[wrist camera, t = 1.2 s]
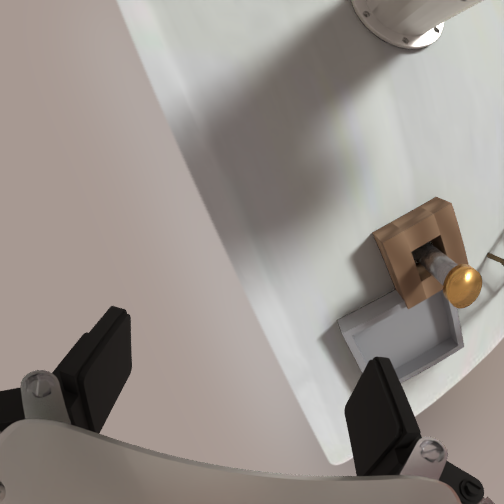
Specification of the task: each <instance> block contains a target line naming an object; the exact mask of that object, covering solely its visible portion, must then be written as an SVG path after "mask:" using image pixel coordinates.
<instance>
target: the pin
mask: <svg viewBox="0 0 504 504" xmlns="http://www.w3.org/2000/svg"><path fill="white" fill-rule="evenodd" d="M411 253H412V256H413V258H414V259H415V260H417V261H418V262H419V263H420V264H421V265H422V266H423V267H424V268H425V269H426V270H427V271H428V272H429V273H430V274H431V275H432V276H434V277H435V278H436V279H437V280H438V281H439V282H440V283H441V284H442V285H443V293H444V296H445V297H446V299H447V300H448V301H449V302H450V303H451V304H452V305H453V306H454V307H456V308H465V307H467V306H469V305H470V304H472V303H473V302H474V301H475V300H476V298H477V297H478V295H479V293H480V291H481V287H482V278H481V275H480V274H479V272H477V271H476V270H475V269H474V268H472V267H471V266H470V265H468V264H459V265H458V264H456V263H455V262H454V261H453V260H451V259H450V258H449V257H447V256H446V255H445V254H444V253H442V252H441V251H440V250H438V249H437V248H436V247H434V246H433V245H432V244H430V243H429V242H427V243H426V244H424V245H422V246H420V247H419V248H417V249H415V250H414V251H412V252H411Z"/></svg>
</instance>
